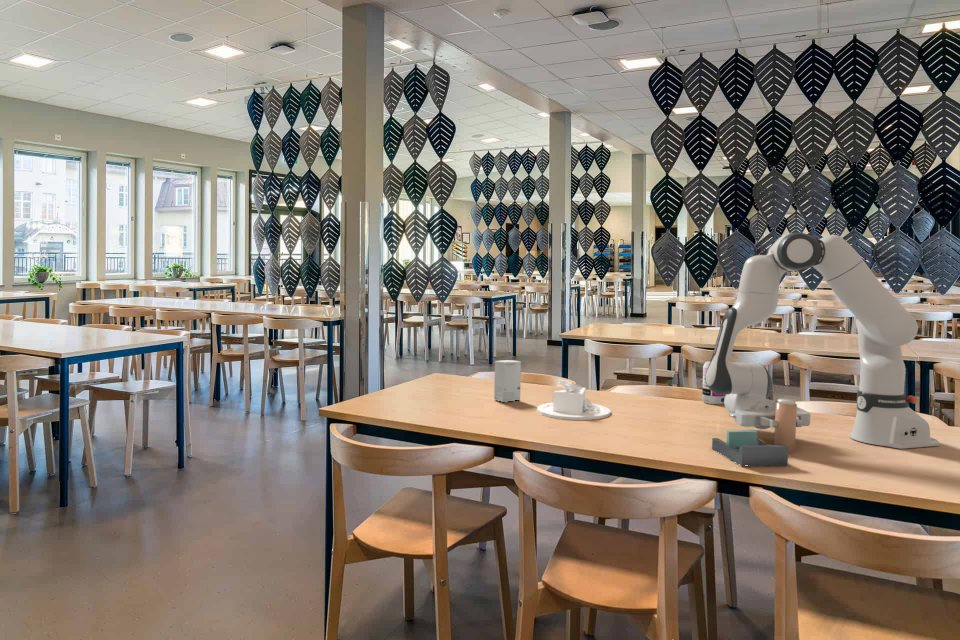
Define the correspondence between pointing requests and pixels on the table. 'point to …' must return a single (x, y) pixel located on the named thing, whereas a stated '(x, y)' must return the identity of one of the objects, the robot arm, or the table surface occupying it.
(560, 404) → the dish
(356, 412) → the table surface
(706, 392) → the supplement can
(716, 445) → the grey open tray
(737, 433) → the block
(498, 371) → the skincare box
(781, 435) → the slim pink can
